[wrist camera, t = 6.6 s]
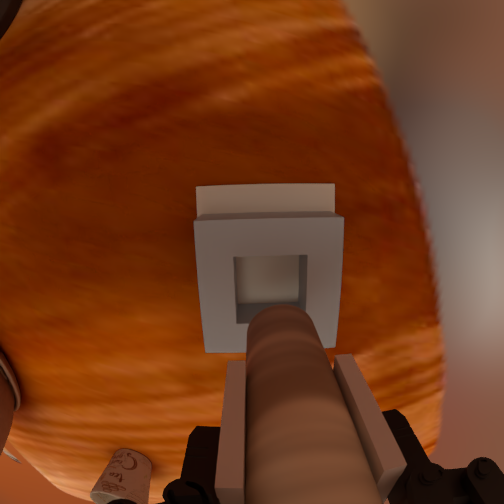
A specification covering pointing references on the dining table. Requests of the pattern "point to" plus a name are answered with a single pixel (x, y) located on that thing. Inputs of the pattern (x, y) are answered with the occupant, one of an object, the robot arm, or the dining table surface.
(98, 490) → the mug
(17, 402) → the potted plant
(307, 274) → the socket
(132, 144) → the dining table surface
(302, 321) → the peg
